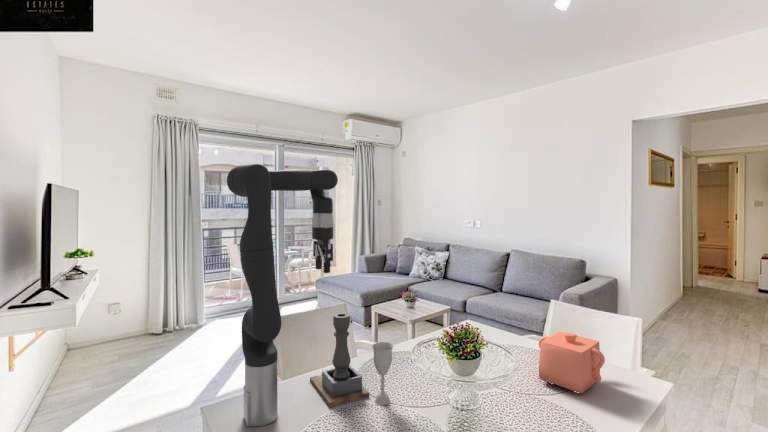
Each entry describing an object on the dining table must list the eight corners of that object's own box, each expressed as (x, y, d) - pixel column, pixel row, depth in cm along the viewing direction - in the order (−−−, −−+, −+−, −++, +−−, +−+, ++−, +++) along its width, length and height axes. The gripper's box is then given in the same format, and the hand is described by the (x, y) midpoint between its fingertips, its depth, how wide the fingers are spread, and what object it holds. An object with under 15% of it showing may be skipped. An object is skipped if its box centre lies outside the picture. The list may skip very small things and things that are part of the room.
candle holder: (347, 393, 125) (347, 318, 124) (329, 391, 126) (329, 317, 125) (352, 385, 131) (352, 313, 130) (335, 383, 132) (335, 312, 131)
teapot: (556, 361, 156) (557, 318, 156) (618, 380, 139) (619, 332, 139) (527, 379, 139) (528, 331, 139) (594, 403, 123) (595, 349, 122)
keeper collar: (332, 398, 121) (332, 383, 121) (321, 385, 131) (322, 370, 130) (362, 391, 126) (362, 376, 126) (349, 378, 136) (349, 365, 135)
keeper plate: (329, 407, 119) (329, 402, 119) (309, 381, 137) (309, 377, 136) (369, 396, 126) (369, 392, 126) (345, 373, 143) (345, 369, 143)
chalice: (380, 393, 128) (380, 340, 128) (397, 399, 124) (397, 345, 124) (367, 402, 122) (367, 347, 122) (384, 408, 118) (384, 352, 118)
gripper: (306, 225, 140) (306, 268, 140) (319, 227, 127) (319, 275, 128) (325, 224, 143) (325, 267, 144) (340, 226, 131) (339, 273, 131)
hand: (322, 271), depth 136 cm, fingers open, 8 cm apart
